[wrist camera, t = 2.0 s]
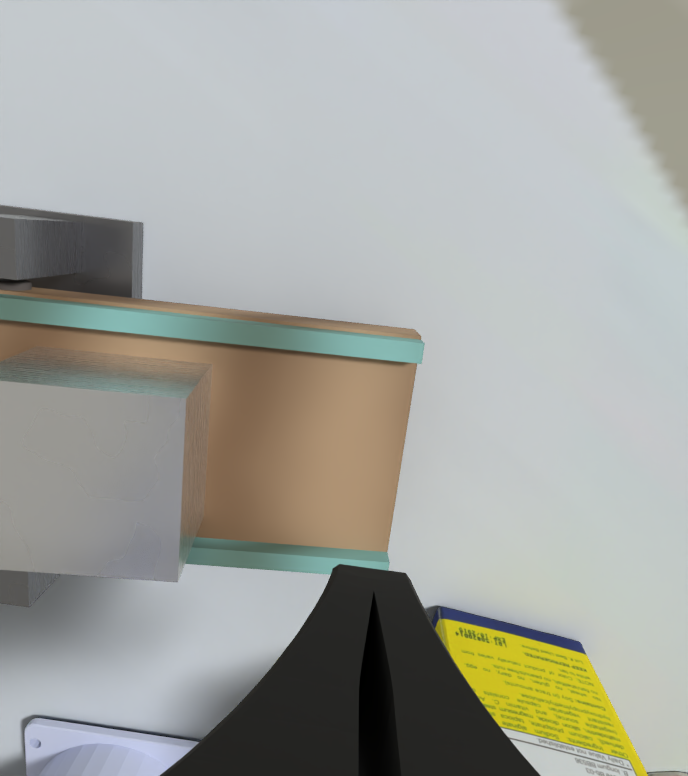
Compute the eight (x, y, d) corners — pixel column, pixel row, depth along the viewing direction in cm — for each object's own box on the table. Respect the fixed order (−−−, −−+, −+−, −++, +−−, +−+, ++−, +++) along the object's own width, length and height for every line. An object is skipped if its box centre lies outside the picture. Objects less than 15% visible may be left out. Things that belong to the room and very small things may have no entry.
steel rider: (203, 515, 18) (177, 582, 14) (41, 502, 17) (-24, 567, 14) (212, 363, 16) (186, 398, 13) (37, 346, 16) (-37, 377, 13)
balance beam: (415, 323, 18) (425, 333, 16) (379, 555, 20) (385, 586, 18) (-342, 238, 16) (-422, 239, 14) (-288, 503, 18) (-351, 532, 16)
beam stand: (143, 222, 19) (77, 218, 15) (136, 549, 22) (81, 620, 18) (-3, 204, 19) (-109, 195, 15) (12, 531, 22) (-71, 598, 18)
